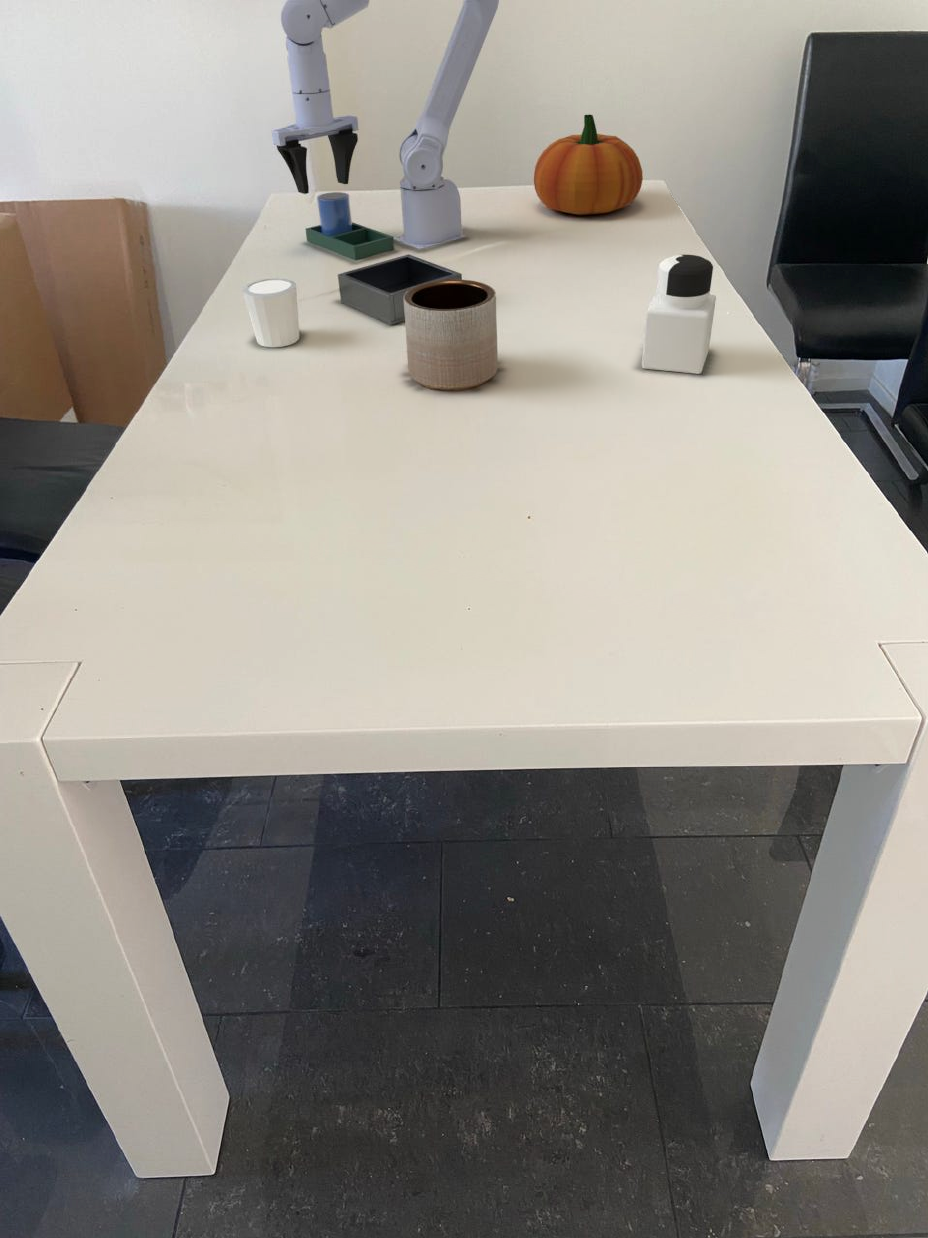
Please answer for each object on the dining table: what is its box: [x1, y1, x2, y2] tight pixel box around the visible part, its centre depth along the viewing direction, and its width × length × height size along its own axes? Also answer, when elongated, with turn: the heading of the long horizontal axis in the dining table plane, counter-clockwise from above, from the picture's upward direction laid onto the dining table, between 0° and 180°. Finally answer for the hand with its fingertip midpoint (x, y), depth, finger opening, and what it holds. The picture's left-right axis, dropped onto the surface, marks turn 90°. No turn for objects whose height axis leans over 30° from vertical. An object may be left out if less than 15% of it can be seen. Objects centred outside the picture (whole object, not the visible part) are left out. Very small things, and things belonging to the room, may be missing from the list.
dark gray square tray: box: [337, 253, 463, 326], centre depth 128 cm, size 13×13×4 cm
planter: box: [403, 279, 499, 391], centre depth 106 cm, size 11×11×10 cm
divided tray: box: [305, 221, 395, 261], centre depth 149 cm, size 8×15×2 cm, turn 39°
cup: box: [316, 191, 353, 236], centre depth 150 cm, size 5×5×7 cm
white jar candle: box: [242, 277, 300, 348], centre depth 118 cm, size 7×7×7 cm
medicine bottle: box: [641, 254, 717, 375], centre depth 106 cm, size 7×7×12 cm
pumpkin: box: [533, 114, 644, 216], centre depth 159 cm, size 19×19×15 cm
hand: (323, 187), depth 144 cm, fingers open, 7 cm apart
